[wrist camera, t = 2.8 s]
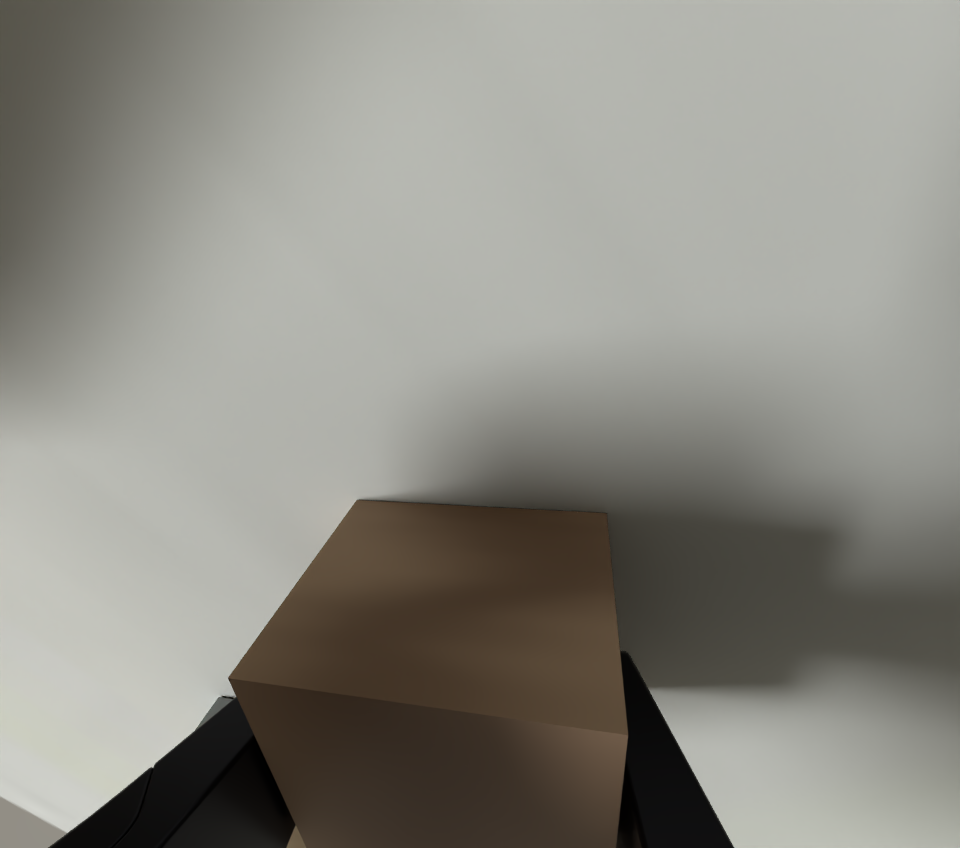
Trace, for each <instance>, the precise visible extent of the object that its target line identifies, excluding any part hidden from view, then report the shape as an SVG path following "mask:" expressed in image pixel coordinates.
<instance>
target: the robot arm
mask: <svg viewBox="0 0 960 848" xmlns="http://www.w3.org/2000/svg"><path fill="white" fill-rule="evenodd" d="M620 656H621V667H622V677H623V687H624V698H625V708H626V719H627V729H628V741H627V750H626V759H625V768H624V778H623V787H622V796H621V805H620V814H619V824H618V833H617V842H616V848H734V847H733V845H732V843H731V841H730V839H729V837H728V835H727V834H726V832H725V830H724V828H723V826H722V824H721V823H720V821H719V819H718V817H717V815H716V813H715V811H714V810H713V808H712V806H711V804H710V802H709V800H708V798H707V797H706V795H705V793H704V791H703V789H702V787H701V786H700V784H699V782H698V780H697V778H696V776H695V774H694V773H693V771H692V769H691V767H690V765H689V763H688V762H687V760H686V758H685V756H684V754H683V752H682V750H681V749H680V747H679V745H678V743H677V741H676V739H675V738H674V736H673V734H672V732H671V730H670V728H669V726H668V725H667V723H666V721H665V719H664V717H663V715H662V714H661V712H660V710H659V708H658V706H657V704H656V702H655V701H654V699H653V697H652V695H651V693H650V691H649V690H648V688H647V686H646V684H645V682H644V680H643V678H642V677H641V675H640V673H639V671H638V669H637V667H636V666H635V664H634V662H633V660H632V658H631V656H630V655H629V654H628V653H627V652H626V651H621V650H620ZM295 826H296V824H295V822H294V820H293V818H292V816H291V814H290V811H289V809H288V807H287V805H286V803H285V801H284V798H283V796H282V794H281V792H280V790H279V788H278V785H277V783H276V781H275V779H274V777H273V775H272V772H271V770H270V768H269V766H268V764H267V762H266V759H265V757H264V755H263V753H262V751H261V749H260V746H259V744H258V742H257V740H256V738H255V736H254V733H253V731H252V729H251V727H250V725H249V723H248V720H247V718H246V716H245V714H244V712H243V710H242V707H241V705H240V703H239V701H238V699H237V697H235V698H234V699H233V700H232V701H230V702H229V703H228V704H227V705H225V706H224V707H223V708H222V709H221V710H219V711H218V712H217V713H216V714H215V715H213V716H212V717H211V718H210V719H209V720H207V721H206V722H205V723H204V724H202V725H201V726H200V727H199V728H198V729H196V730H195V731H194V732H193V733H192V734H190V735H189V736H188V737H187V738H186V739H184V740H183V741H182V742H181V743H179V744H178V745H177V746H176V747H175V748H173V749H172V750H171V751H170V752H169V753H167V754H166V755H165V756H164V757H163V758H161V759H160V760H159V761H158V762H156V764H155V765H154V768H153V767H151V768H149V769H148V770H147V771H145V772H144V773H143V774H142V775H141V776H139V777H138V778H137V779H136V780H134V781H133V782H132V783H131V784H130V785H128V786H127V787H126V788H125V789H123V790H122V791H121V792H120V793H118V794H117V795H116V796H115V797H113V798H112V799H111V800H110V801H108V802H107V803H106V804H105V805H103V806H102V807H101V808H100V809H98V810H97V811H96V812H95V813H93V814H92V815H91V816H90V817H88V818H87V819H86V820H84V821H83V822H82V823H80V824H79V825H78V826H76V827H75V828H74V829H72V830H71V831H70V832H68V833H67V834H66V835H64V836H63V837H62V838H60V839H59V840H58V841H56V842H55V843H54V844H52V845H51V846H50V847H48V848H286V847H287V845H288V842H289V840H290V838H291V835H292V833H293V831H294V828H295Z"/></svg>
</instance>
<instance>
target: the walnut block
mask: <svg viewBox="0 0 960 848" xmlns="http://www.w3.org/2000/svg"><path fill="white" fill-rule="evenodd" d="M228 679H229V681H230V683H231V686H232V688H233V690H234V692H235V694H236V697H237V699H238V701H239V703H240V705H241V707H242V710H243V712H244V714H245V716H246V718H247V720H248V723H249V725H250V727H251V729H252V731H253V733H254V736H255V738H256V740H257V742H258V744H259V746H260V749H261V751H262V753H263V755H264V757H265V759H266V762H267V764H268V766H269V768H270V770H271V772H272V775H273V777H274V779H275V781H276V783H277V785H278V788H279V790H280V792H281V794H282V796H283V798H284V801H285V803H286V805H287V807H288V809H289V811H290V814H291V816H292V818H293V820H294V822H295V824H296V827H297V829H298V831H299V833H300V835H301V837H302V840H303V842H304V844H305V846H306V848H616V842H617V833H618V824H619V814H620V805H621V796H622V787H623V778H624V768H625V759H626V750H627V741H628V729H627V719H626V708H625V698H624V687H623V677H622V667H621V656H620V646H619V635H618V625H617V615H616V604H615V594H614V584H613V573H612V563H611V552H610V542H609V532H608V521H607V513H593V512H574V511H555V510H536V509H517V508H498V507H478V506H459V505H440V504H421V503H402V502H383V501H364V500H357V501H356V502H355V503H354V505H353V506H352V507H351V509H350V510H349V512H348V513H347V514H346V516H345V517H344V519H343V520H342V521H341V523H340V524H339V525H338V527H337V528H336V530H335V531H334V532H333V534H332V535H331V537H330V538H329V539H328V541H327V542H326V543H325V545H324V546H323V548H322V549H321V550H320V552H319V553H318V554H317V556H316V557H315V559H314V560H313V561H312V563H311V564H310V566H309V567H308V568H307V570H306V571H305V572H304V574H303V575H302V577H301V578H300V579H299V581H298V582H297V583H296V585H295V586H294V588H293V589H292V590H291V592H290V593H289V595H288V596H287V597H286V599H285V600H284V601H283V603H282V604H281V606H280V607H279V608H278V610H277V611H276V612H275V614H274V615H273V617H272V618H271V619H270V621H269V622H268V624H267V625H266V626H265V628H264V629H263V630H262V632H261V633H260V635H259V636H258V637H257V639H256V640H255V642H254V643H253V644H252V646H251V647H250V648H249V650H248V651H247V653H246V654H245V655H244V657H243V658H242V659H241V661H240V662H239V664H238V665H237V666H236V668H235V669H234V671H233V672H232V673H231V675H230V676H229V677H228Z"/></svg>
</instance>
